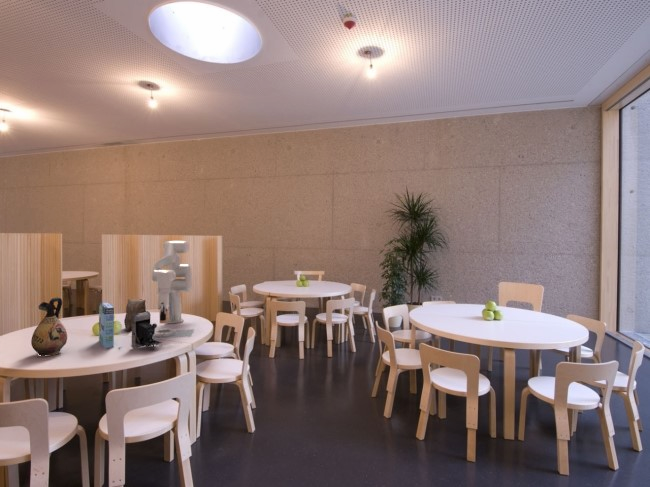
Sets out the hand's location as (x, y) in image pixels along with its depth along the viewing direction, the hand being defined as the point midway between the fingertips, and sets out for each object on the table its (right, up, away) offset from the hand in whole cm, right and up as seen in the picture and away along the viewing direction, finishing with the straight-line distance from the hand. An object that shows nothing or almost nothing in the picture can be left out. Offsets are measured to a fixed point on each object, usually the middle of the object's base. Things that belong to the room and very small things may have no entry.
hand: (164, 318), depth 229 cm
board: (+5, -11, +2) cm, 12 cm away
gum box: (-27, -12, -16) cm, 33 cm away
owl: (-29, -11, +18) cm, 36 cm away
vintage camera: (+1, -12, -23) cm, 26 cm away
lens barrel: (0, -10, 0) cm, 10 cm away
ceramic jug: (-46, -12, -33) cm, 58 cm away
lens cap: (0, -2, 0) cm, 2 cm away
